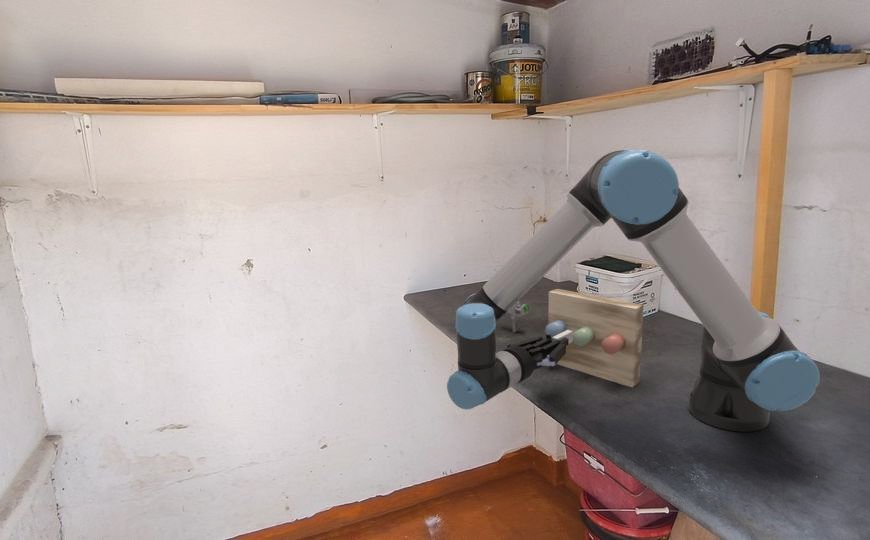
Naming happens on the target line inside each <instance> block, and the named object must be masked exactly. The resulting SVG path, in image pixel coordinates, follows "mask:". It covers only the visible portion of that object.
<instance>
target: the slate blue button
mask: <svg viewBox="0 0 870 540" xmlns="http://www.w3.org/2000/svg"><path fill="white" fill-rule="evenodd" d="M566 330H567V326H566V324H565V323H564V322H563V321H562V320H557V321H555V322H553V323H550V324H547V325H546V326H545V329H544V331H545V333H546V335H551V337H553V336H556V335H558V334H560V333H562V332H564V331H566Z"/></svg>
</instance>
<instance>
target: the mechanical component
mask: <svg viewBox="0 0 870 540" xmlns="http://www.w3.org/2000/svg"><path fill="white" fill-rule="evenodd" d="M529 309H530V306H529V305H528V304H527V303H524V304H520V300H518V301H517V302H516V303H515V304H514V305H513V306H512V307H511V308H510V309H509V310H508V311H507V312H506V313H507V314H510V319H511V320H512V326H511V327H512V333H516V332H518V319H520V317H522V316H525V315H527V314H528V313H529ZM506 313H505V314H506Z"/></svg>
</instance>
